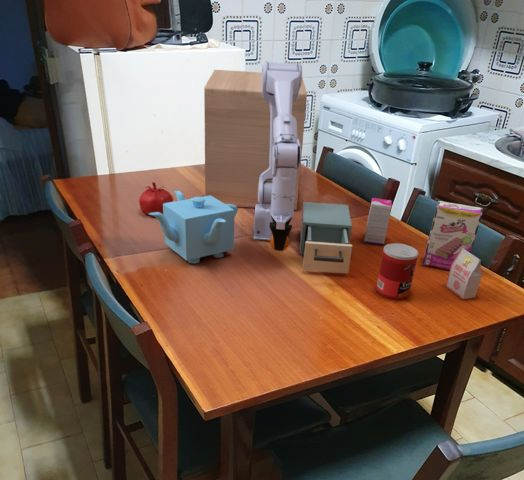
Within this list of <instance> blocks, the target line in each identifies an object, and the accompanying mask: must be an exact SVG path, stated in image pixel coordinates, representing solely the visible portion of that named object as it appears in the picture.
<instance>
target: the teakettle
mask: <svg viewBox="0 0 524 480" xmlns="http://www.w3.org/2000/svg"><path fill="white" fill-rule="evenodd" d="M173 192H174V194H175V196H176V199H177V200H176V201H173V202H169V203H164V204H163V214H162V213H160V212H152V213H149V215H148V216H152V217H154V218H156V219H157V220H158V223H159V224H160V228H161V231H162V233H163V235H164V244H165V245H166V246H167V247H169V248H170V249H171V250H172V251H174V252H175V253H176V254H178V255H179V256H180V257H181V258H182V259H184V260H185V261H187V262H188V263H189V264H198V263H200V261H201V258H203V257H204V258H205V257H208V256H211V255H212V257H214V258H217V259H218V258H223V257H224V252H230V251H233V250H235V217H236V215H237V213H238V210H239V209H238V207H236V206H235V205H233V204H224V203H222V202H221V201H219V200H217V199H216V198H214V197H212V196H211V195H210V196H205V195H204V196H194V197H191V198H188V199H187V198H185V195H184V194H183V192H181V191H180V190H174V191H173Z"/></svg>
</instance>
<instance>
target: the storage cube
mask: <svg viewBox="0 0 524 480" xmlns="http://www.w3.org/2000/svg"><path fill="white" fill-rule="evenodd" d="M203 92H204V93H203V94H204V95H203V97H204V100H203V101H204V105H203V106H204V196H210V195H211V196H212V197H214V198H216V199H217V200H219V201H221V202H222V203H224V204H233V205H235V206H236V207H237V208H251V209H255V206H256V204H260V203H259V202H258V184H259V177H260V175H261V174H262V173H263V172H264V171H266V170H267V169H268V168H269V157H270V114H271V113H270V107H269V102H267V101H266V100H264V99H263V95H262V71H261V72H259V71H243V70H226V69H214V70H213V71H212V73H211V75H210V77H209V78H208V79H207V82H206V83H205V85H204V91H203ZM307 100H308V91H307V88H306V85H305V82H304V78H303V77H302V83H301V88H300V90H299V94H298V96H297V100H295V101H293V102H292V116H293V117H295V119H296V121H297V138H298V139H299V142H300V146H301V156H302V155H303V144H304V133H305V131H304V130H305V123H306V122H305V120H306V110H307ZM301 166H302V160H301V161H300V166H299V168H297V166H296V168H297V177H296V188H295V201H294V210H293V211H297V208H298V196H299V187H300V177H301V176H300V175H301ZM265 181H273V180H265Z"/></svg>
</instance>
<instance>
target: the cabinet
mask: <svg viewBox="0 0 524 480" xmlns="http://www.w3.org/2000/svg"><path fill="white" fill-rule="evenodd" d="M301 213H302V214H301V223H300V224H301V225H300V237H299V240H300V241H299V254H300V255H303V256H304V250H305V241H306V235H307V225H310V226H324V227H337V228H346V231H347V237H348V243H349V244H350V243H351V236H352V235H351V234H352V229H353V228H352V227H353V223H352V219H351V213H350V209H349V204H340V203H338V204H337V203H326V202H312V201H303V202H302V211H301Z"/></svg>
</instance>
